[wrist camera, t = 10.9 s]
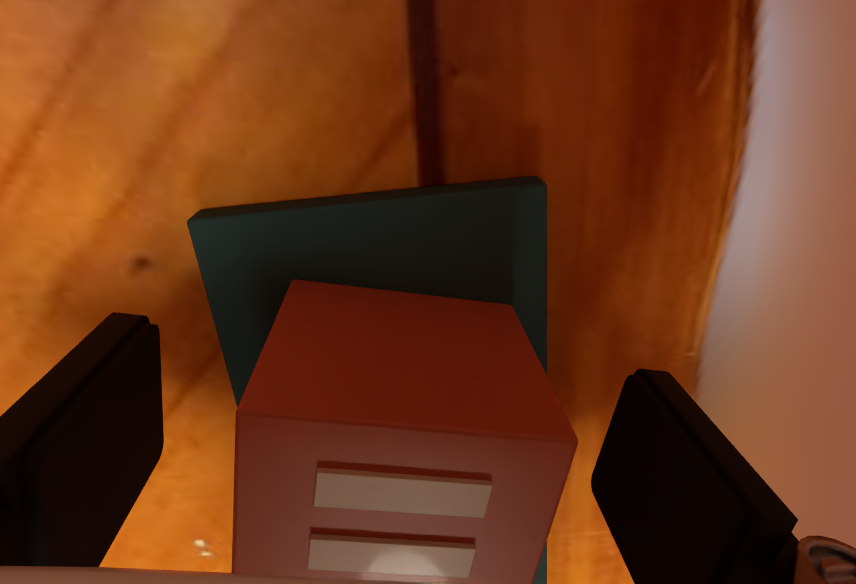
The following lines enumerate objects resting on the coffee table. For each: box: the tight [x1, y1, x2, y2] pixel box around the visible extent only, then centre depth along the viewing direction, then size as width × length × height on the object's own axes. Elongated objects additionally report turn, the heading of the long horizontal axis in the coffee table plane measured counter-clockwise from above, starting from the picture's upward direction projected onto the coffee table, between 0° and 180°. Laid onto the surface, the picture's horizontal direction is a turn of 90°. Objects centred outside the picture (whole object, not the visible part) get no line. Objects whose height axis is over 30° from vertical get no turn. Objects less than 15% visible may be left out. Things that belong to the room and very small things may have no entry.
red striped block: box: [232, 279, 578, 584], centre depth 10 cm, size 5×5×5 cm
